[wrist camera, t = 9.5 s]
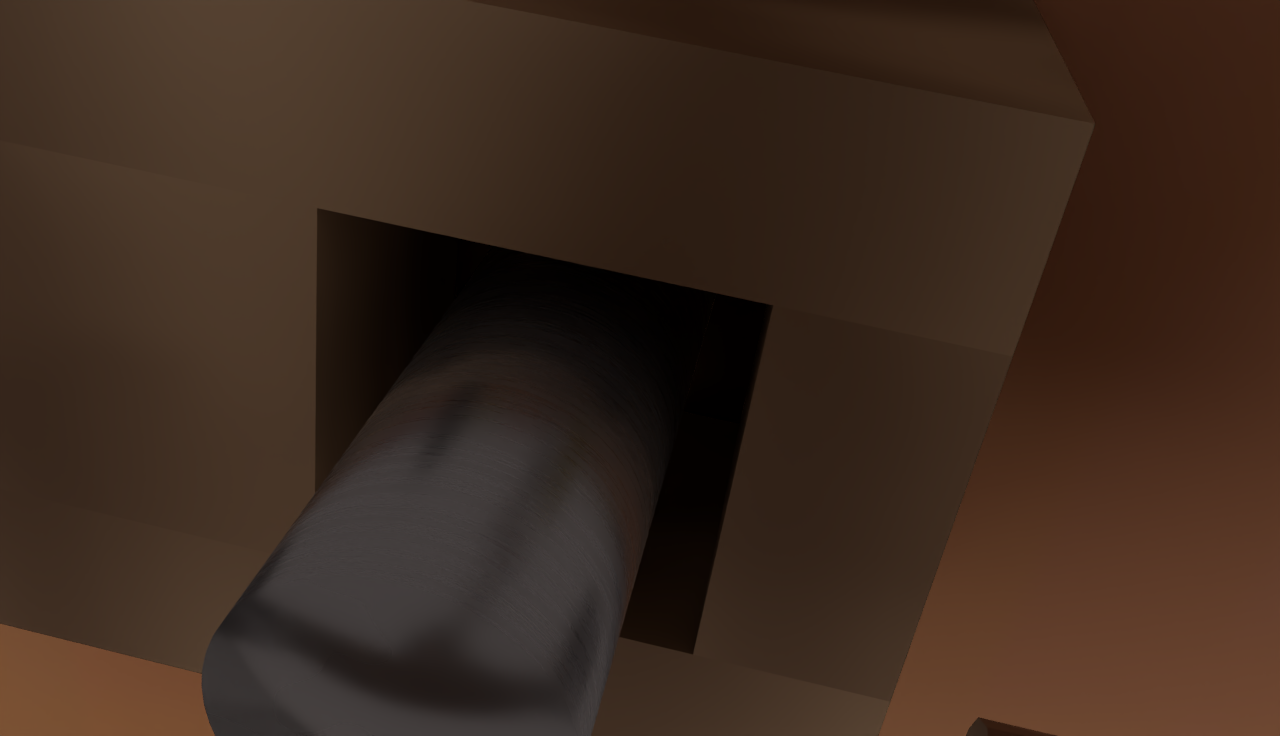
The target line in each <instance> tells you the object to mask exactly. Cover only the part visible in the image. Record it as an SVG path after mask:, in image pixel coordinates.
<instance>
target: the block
mask: <svg viewBox="0 0 1280 736" xmlns="http://www.w3.org/2000/svg"><path fill="white" fill-rule="evenodd" d="M1094 126H1095V122H1094V120H1093V118H1092V116H1091V114H1090V112H1089V110H1088V108H1087V106H1086V104H1085V102H1084V100H1083V98H1082V96H1081V94H1080V92H1079V90H1078V88H1077V86H1076V84H1075V82H1074V80H1073V78H1072V76H1071V74H1070V72H1069V70H1068V68H1067V66H1066V64H1065V62H1064V60H1063V58H1062V56H1061V54H1060V52H1059V50H1058V48H1057V46H1056V44H1055V42H1054V40H1053V38H1052V36H1051V34H1050V32H1049V30H1048V28H1047V26H1046V24H1045V22H1044V20H1043V18H1042V16H1041V14H1040V12H1039V10H1038V8H1037V6H1036V4H1035V2H1034V0H0V624H4V625H8V626H12V627H16V628H20V629H24V630H28V631H32V632H36V633H40V634H44V635H48V636H52V637H56V638H60V639H65V640H69V641H73V642H77V643H81V644H85V645H89V646H93V647H97V648H101V649H105V650H109V651H113V652H117V653H121V654H125V655H129V656H133V657H137V658H141V659H145V660H149V661H153V662H157V663H161V664H165V665H169V666H173V667H177V668H181V669H185V670H189V671H193V672H197V673H201V674H202V667H203V663H204V658H205V654H206V650H207V648H208V646H209V643H210V641H211V639H212V636H213V635H214V633H215V632H216V630H217V629H218V627H219V626H220V625H221V623H222V622H223V620H224V619H225V617H226V616H227V615H228V613H229V612H230V610H231V609H232V608H233V606H234V605H235V604H236V602H237V601H238V599H239V598H240V597H241V595H242V594H243V592H244V591H245V590H246V588H247V587H248V586H249V584H250V583H251V581H252V580H253V579H254V577H255V576H256V574H257V573H258V572H259V570H260V569H261V567H262V566H263V565H264V563H265V562H266V561H267V559H268V558H269V556H270V555H271V554H272V552H273V551H274V549H275V548H276V547H277V545H278V544H279V543H280V541H281V540H282V538H283V537H284V536H285V534H286V533H287V531H288V530H289V529H290V527H291V526H292V524H293V523H294V522H295V520H296V519H297V518H298V516H299V515H300V513H301V512H302V511H303V509H304V508H305V506H306V505H307V504H308V502H309V501H310V500H311V498H312V497H313V495H314V494H315V493H316V491H317V490H318V488H319V487H320V486H321V484H322V483H323V481H324V480H325V479H326V477H327V476H328V475H329V473H330V472H331V470H332V469H333V468H334V466H335V465H336V463H337V462H338V461H339V459H340V458H341V457H342V455H343V454H344V452H345V451H346V450H347V448H348V447H349V445H350V444H351V443H352V441H353V440H354V438H355V437H356V436H357V434H358V433H359V432H360V430H361V429H362V427H363V426H364V425H365V423H366V422H367V420H368V419H369V418H370V416H371V415H372V414H373V412H374V411H375V409H376V408H377V407H378V405H379V404H380V402H381V401H382V400H383V398H384V397H385V395H386V394H387V393H388V391H389V390H390V389H391V387H392V386H393V384H394V383H395V382H396V380H397V379H398V377H399V376H400V375H401V373H402V372H403V371H404V369H405V368H406V366H407V365H408V364H409V362H410V361H411V359H412V358H413V357H414V355H415V354H416V352H417V351H418V350H419V348H420V347H421V346H422V344H423V343H424V341H425V340H426V339H427V337H428V336H429V334H430V333H431V332H432V330H433V329H434V328H435V326H436V325H437V323H438V322H439V321H440V319H441V318H442V316H443V315H444V314H445V312H446V311H447V309H448V308H449V307H450V305H451V304H452V303H453V301H454V297H455V284H456V270H457V257H458V244H459V238H460V239H465V240H469V241H474V242H479V243H483V244H488V245H493V246H497V247H502V248H507V249H511V250H516V251H521V252H526V253H530V254H535V255H540V256H544V257H549V258H554V259H558V260H563V261H568V262H572V263H577V264H582V265H586V266H591V267H596V268H600V269H605V270H610V271H615V272H619V273H624V274H629V275H633V276H638V277H643V278H647V279H652V280H657V281H661V282H666V283H671V284H675V285H680V286H685V287H690V288H694V289H699V290H704V291H708V292H713V293H718V294H722V295H727V296H732V297H736V298H741V299H746V300H750V301H755V302H760V303H765V304H767V305H766V309H765V314H764V318H763V323H762V327H761V331H760V336H759V340H758V345H757V349H756V354H755V358H754V362H753V367H752V371H751V376H750V380H749V384H748V389H747V393H746V398H745V402H744V406H743V411H742V415H741V420H740V424H737V423H733V422H728V421H724V420H719V419H715V418H710V417H706V416H701V415H697V414H692V413H688V412H683V414H682V417H681V421H680V424H679V428H678V431H677V435H676V439H675V442H674V446H673V449H672V453H671V456H670V460H669V463H668V467H667V470H666V474H665V477H664V481H663V484H662V488H661V491H660V495H659V498H658V502H657V505H656V509H655V513H654V516H653V520H652V523H651V527H650V530H649V534H648V537H647V541H646V544H645V548H644V551H643V555H642V558H641V562H640V565H639V569H638V572H637V576H636V579H635V583H634V587H633V590H632V594H631V597H630V601H629V604H628V608H627V611H626V615H625V618H624V622H623V625H622V629H621V632H620V636H619V639H618V643H617V646H616V650H615V653H614V657H613V660H612V664H611V668H610V671H609V675H608V678H607V682H606V685H605V689H604V692H603V696H602V699H601V703H600V706H599V710H598V713H597V717H596V720H595V724H594V727H593V731H592V734H591V736H878V735H879V732H880V729H881V726H882V724H883V721H884V718H885V715H886V712H887V709H888V707H889V704H890V701H891V698H892V695H893V693H894V690H895V687H896V684H897V681H898V678H899V676H900V673H901V670H902V667H903V664H904V662H905V659H906V656H907V653H908V650H909V647H910V645H911V642H912V639H913V636H914V633H915V631H916V628H917V625H918V622H919V619H920V616H921V614H922V611H923V608H924V605H925V602H926V600H927V597H928V594H929V591H930V588H931V585H932V583H933V580H934V577H935V574H936V571H937V569H938V566H939V563H940V560H941V557H942V554H943V552H944V549H945V546H946V543H947V540H948V538H949V535H950V532H951V529H952V526H953V523H954V521H955V518H956V515H957V512H958V509H959V507H960V504H961V501H962V498H963V495H964V493H965V490H966V487H967V484H968V481H969V478H970V476H971V473H972V470H973V467H974V464H975V462H976V459H977V456H978V453H979V450H980V447H981V445H982V442H983V439H984V436H985V433H986V431H987V428H988V425H989V422H990V419H991V416H992V414H993V411H994V408H995V405H996V402H997V400H998V397H999V394H1000V391H1001V388H1002V385H1003V383H1004V380H1005V377H1006V374H1007V371H1008V369H1009V366H1010V363H1011V360H1012V357H1013V354H1014V352H1015V349H1016V346H1017V343H1018V340H1019V338H1020V335H1021V332H1022V329H1023V326H1024V323H1025V321H1026V318H1027V315H1028V312H1029V309H1030V307H1031V304H1032V301H1033V298H1034V295H1035V292H1036V290H1037V287H1038V284H1039V281H1040V278H1041V276H1042V273H1043V270H1044V267H1045V264H1046V262H1047V259H1048V256H1049V253H1050V250H1051V247H1052V245H1053V242H1054V239H1055V236H1056V233H1057V231H1058V228H1059V225H1060V222H1061V219H1062V216H1063V214H1064V211H1065V208H1066V205H1067V202H1068V200H1069V197H1070V194H1071V191H1072V188H1073V185H1074V183H1075V180H1076V177H1077V174H1078V171H1079V169H1080V166H1081V163H1082V160H1083V157H1084V154H1085V152H1086V149H1087V146H1088V143H1089V140H1090V138H1091V135H1092V132H1093V129H1094Z"/></svg>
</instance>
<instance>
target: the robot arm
mask: <svg viewBox="0 0 1280 736" xmlns="http://www.w3.org/2000/svg"><path fill="white" fill-rule="evenodd" d="M966 736H1056V735H1052V734H1048V733H1043V732H1039V731H1035V730H1031V729H1026V728H1022V727H1018V726H1013V725H1009V724H1005V723H1001V722H996V721H992V720H988V719H984V718H979V717H978V718H977V720H976V721H975V722H974V723H973V724H972V726H971V727H970V728H969V730H968V732H967V735H966Z"/></svg>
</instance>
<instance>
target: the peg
mask: <svg viewBox="0 0 1280 736" xmlns="http://www.w3.org/2000/svg"><path fill="white" fill-rule="evenodd" d="M716 294H717V293H713V292H708V291H704V290H699V289H694V288H690V287H685V286H680V285H675V284H671V283H666V282H661V281H657V280H652V279H647V278H643V277H638V276H633V275H629V274H624V273H619V272H615V271H610V270H605V269H600V268H596V267H591V266H586V265H582V264H577V263H572V262H568V261H563V260H558V259H554V258H549V257H544V256H540V255H535V254H530V253H526V252H521V251H516V250H511V249H507V248H502V247H497V246H493V247H492V248H491V250H490V251H489V253H488V254H487V255H486V257H485V258H484V260H483V261H482V262H481V264H480V265H479V266H478V268H477V269H476V271H475V272H474V273H473V275H472V276H471V278H470V279H469V280H468V282H467V283H466V285H465V286H464V287H463V289H462V290H461V291H460V293H459V294H458V296H457V297H456V298H455V300H454V301H453V303H452V304H451V305H450V307H449V308H448V309H447V311H446V312H445V314H444V315H443V316H442V318H441V319H440V321H439V322H438V323H437V325H436V326H435V328H434V329H433V330H432V332H431V333H430V334H429V336H428V337H427V339H426V340H425V341H424V343H423V344H422V346H421V347H420V348H419V350H418V351H417V352H416V354H415V355H414V357H413V358H412V359H411V361H410V362H409V364H408V365H407V366H406V368H405V369H404V371H403V372H402V373H401V375H400V376H399V377H398V379H397V380H396V382H395V383H394V384H393V386H392V387H391V389H390V390H389V391H388V393H387V394H386V395H385V397H384V398H383V400H382V401H381V402H380V404H379V405H378V407H377V408H376V409H375V411H374V412H373V414H372V415H371V416H370V418H369V419H368V420H367V422H366V423H365V425H364V426H363V427H362V429H361V430H360V432H359V433H358V434H357V436H356V437H355V438H354V440H353V441H352V443H351V444H350V445H349V447H348V448H347V450H346V451H345V452H344V454H343V455H342V457H341V458H340V459H339V461H338V462H337V463H336V465H335V466H334V468H333V469H332V470H331V472H330V473H329V475H328V476H327V477H326V479H325V480H324V481H323V483H322V484H321V486H320V487H319V488H318V490H317V491H316V493H315V494H314V495H313V497H312V498H311V500H310V501H309V502H308V504H307V505H306V506H305V508H304V509H303V511H302V512H301V513H300V515H299V516H298V518H297V519H296V520H295V522H294V523H293V524H292V526H291V527H290V529H289V530H288V531H287V533H286V534H285V536H284V537H283V538H282V540H281V541H280V543H279V544H278V545H277V547H276V548H275V549H274V551H273V552H272V554H271V555H270V556H269V558H268V559H267V561H266V562H265V563H264V565H263V566H262V567H261V569H260V570H259V572H258V573H257V574H256V576H255V577H254V579H253V580H252V581H251V583H250V584H249V586H248V587H247V588H246V590H245V591H244V592H243V594H242V595H241V597H240V598H239V599H238V601H237V602H236V604H235V605H234V606H233V608H232V609H231V610H230V612H229V613H228V615H227V616H226V617H225V619H224V620H223V622H222V623H221V625H220V626H219V627H218V629H217V630H216V632H215V633H214V635H213V636H212V639H211V641H210V643H209V646H208V648H207V650H206V654H205V658H204V663H203V667H202V693H203V700H204V706H205V709H206V713H207V716H208V719H209V723H210V725H211V727H212V729H213V732H214V734H215V736H591V734H592V731H593V727H594V724H595V720H596V717H597V713H598V710H599V706H600V703H601V699H602V696H603V692H604V689H605V685H606V682H607V678H608V675H609V671H610V668H611V664H612V660H613V657H614V653H615V650H616V646H617V643H618V639H619V636H620V632H621V629H622V625H623V622H624V618H625V615H626V611H627V608H628V604H629V601H630V597H631V594H632V590H633V587H634V583H635V579H636V576H637V572H638V569H639V565H640V562H641V558H642V555H643V551H644V548H645V544H646V541H647V537H648V534H649V530H650V527H651V523H652V520H653V516H654V513H655V509H656V505H657V502H658V498H659V495H660V491H661V488H662V484H663V481H664V477H665V474H666V470H667V467H668V463H669V460H670V456H671V453H672V449H673V446H674V442H675V439H676V435H677V431H678V428H679V424H680V421H681V417H682V414H683V410H684V407H685V403H686V400H687V396H688V393H689V389H690V386H691V382H692V379H693V375H694V372H695V368H696V365H697V361H698V358H699V354H700V350H701V347H702V343H703V340H704V336H705V333H706V329H707V326H708V322H709V319H710V315H711V312H712V308H713V305H714V301H715V298H716Z"/></svg>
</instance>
